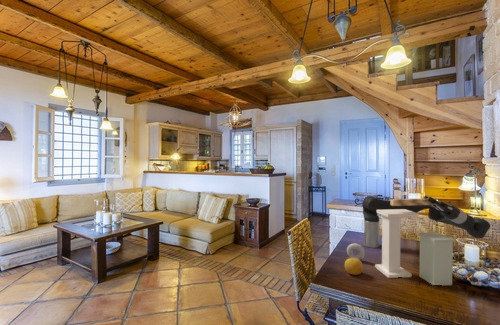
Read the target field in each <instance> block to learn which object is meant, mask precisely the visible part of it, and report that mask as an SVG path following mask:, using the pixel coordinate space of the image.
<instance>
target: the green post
mask: <svg viewBox="0 0 500 325" xmlns="http://www.w3.org/2000/svg"><path fill="white" fill-rule="evenodd" d="M417 235H418V236H419V277H420V278H421V279H423V280H425V281H426V282H428V283H429V284H430V283H431V284H430V285H432V286H433V285H442V286H452V285H453V256H454V255H453V253H454V252H453V250H454V242H455V241H456V239H455V238H452V237H449V236H447V235H444V234H442V233H440V232H418V234H417Z"/></svg>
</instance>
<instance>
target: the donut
mask: <svg viewBox="0 0 500 325" xmlns="http://www.w3.org/2000/svg"><path fill="white" fill-rule="evenodd" d="M354 250H357V251H358V253H354ZM365 250H366V249H365V247H363V245H361V244H359V243H356V242H354V243H350V244H348V246H347V247H346V253H347V255H348V257H349V258H357V259H359V260H360V261H361V260H363V259H364V258H365V257H366V251H365Z"/></svg>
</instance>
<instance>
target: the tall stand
mask: <svg viewBox="0 0 500 325" xmlns="http://www.w3.org/2000/svg"><path fill="white" fill-rule="evenodd" d="M377 214H379V215H381V216H382V217H381V218H382V220H381V222H382V224H381V227H382V228H381V230H382V231H381V233H382V234H381V263H379V264H378V263H376V264H374V267H375V268H376V269H377V270H378V271H379V272H381V273H382V274H383V275H384V276H386V277H387V279H395V278H396V279H397V278H398V277H402V278H412V276H413V275H412V273H411V272H409V271H408V270H406V269H405V268H403V267H401V230H402V229H401V228H402V227H401V218H404V217H405V218H407V217H409V218H410V217H414V218H415V217H419V216H420V214H419V212H417V213H415V212H412V211H409V210H406V209H388V210H377Z"/></svg>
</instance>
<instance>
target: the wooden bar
mask: <svg viewBox="0 0 500 325" xmlns="http://www.w3.org/2000/svg"><path fill="white" fill-rule="evenodd" d="M432 198H433V199H435V200H438V201H439V199H438V198H435V197H432ZM389 201H390V205H392V206H408V205H434V204H433V203H431V202H430V201H428V198H424V197H423V198H393V199H391V198H390V200H389Z"/></svg>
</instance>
